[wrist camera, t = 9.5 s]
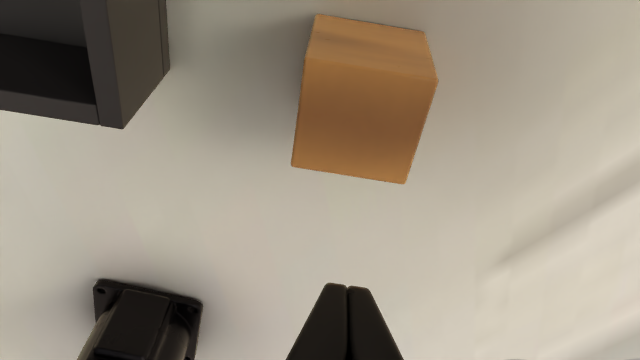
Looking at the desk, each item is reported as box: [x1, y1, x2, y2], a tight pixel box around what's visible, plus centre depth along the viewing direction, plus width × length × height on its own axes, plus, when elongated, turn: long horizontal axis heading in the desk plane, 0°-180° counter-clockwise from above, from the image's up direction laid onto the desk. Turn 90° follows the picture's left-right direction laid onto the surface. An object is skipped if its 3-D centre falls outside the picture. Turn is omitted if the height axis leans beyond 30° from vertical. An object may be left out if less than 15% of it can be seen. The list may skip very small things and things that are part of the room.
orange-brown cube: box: [291, 14, 438, 184], centre depth 17 cm, size 4×4×4 cm
